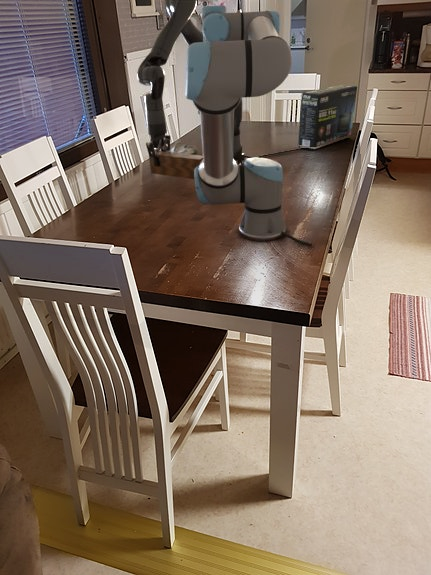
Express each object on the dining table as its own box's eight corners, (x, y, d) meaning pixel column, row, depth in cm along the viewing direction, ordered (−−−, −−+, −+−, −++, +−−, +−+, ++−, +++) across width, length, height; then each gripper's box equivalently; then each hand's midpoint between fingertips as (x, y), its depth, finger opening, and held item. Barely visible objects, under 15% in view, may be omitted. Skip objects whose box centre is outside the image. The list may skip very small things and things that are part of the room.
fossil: (184, 156, 217) (163, 136, 220) (174, 174, 223) (154, 154, 227) (205, 153, 231) (186, 134, 234) (195, 171, 237) (176, 152, 240)
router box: (314, 151, 231) (318, 94, 217) (296, 148, 237) (299, 92, 224) (352, 138, 251) (358, 85, 238) (335, 135, 258) (340, 83, 245)
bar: (207, 176, 183) (206, 156, 179) (200, 180, 179) (199, 159, 175) (158, 169, 194) (155, 150, 189) (151, 173, 190) (148, 153, 186)
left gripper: (159, 117, 186) (163, 158, 195) (137, 124, 176) (143, 168, 185) (174, 118, 183) (178, 160, 192) (153, 126, 173) (158, 170, 181)
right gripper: (224, 58, 156) (226, 123, 167) (184, 66, 138) (189, 138, 149) (244, 58, 153) (244, 124, 164) (205, 66, 135) (208, 140, 146)
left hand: (161, 164), depth 188 cm, fingers closed on bar, 5 cm apart
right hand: (218, 131), depth 156 cm, fingers open, 13 cm apart
